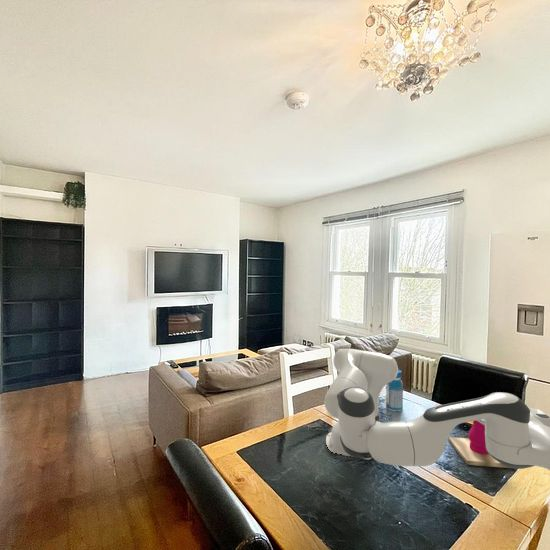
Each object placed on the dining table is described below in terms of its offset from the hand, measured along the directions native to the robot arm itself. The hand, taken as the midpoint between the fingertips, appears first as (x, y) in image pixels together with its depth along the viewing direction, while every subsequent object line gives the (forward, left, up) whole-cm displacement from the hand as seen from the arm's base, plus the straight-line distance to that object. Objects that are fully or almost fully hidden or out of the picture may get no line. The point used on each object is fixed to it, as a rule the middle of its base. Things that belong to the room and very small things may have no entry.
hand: (494, 404), depth 103 cm
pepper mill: (+4, +16, -25) cm, 30 cm away
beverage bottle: (-19, +52, -26) cm, 62 cm away
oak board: (+4, +16, -26) cm, 31 cm away
